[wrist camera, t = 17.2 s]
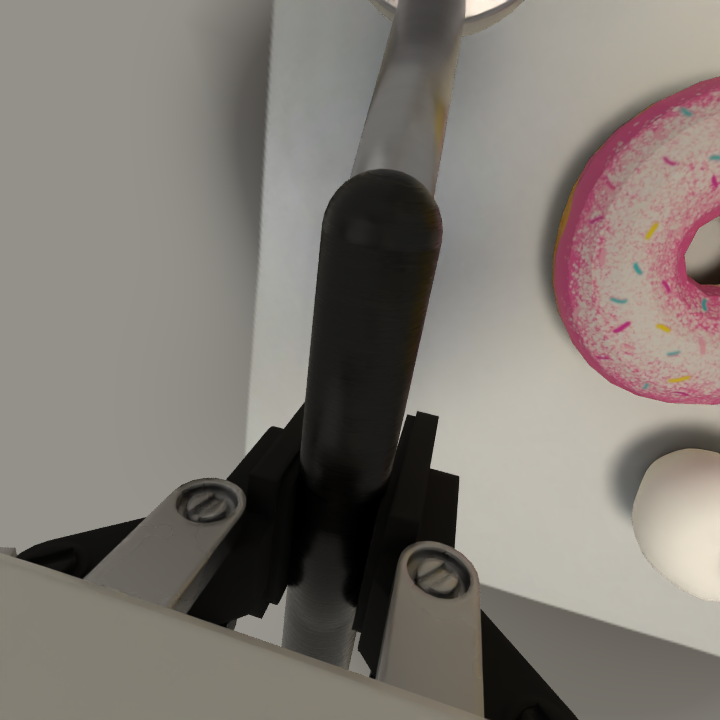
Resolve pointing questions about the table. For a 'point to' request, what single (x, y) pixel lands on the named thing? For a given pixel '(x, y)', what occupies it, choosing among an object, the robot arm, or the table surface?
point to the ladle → (371, 317)
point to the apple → (682, 520)
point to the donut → (646, 252)
